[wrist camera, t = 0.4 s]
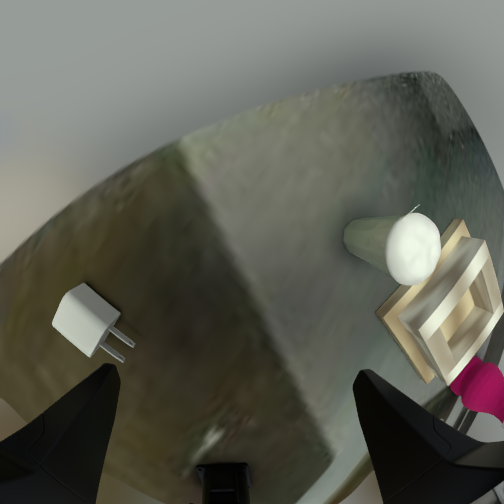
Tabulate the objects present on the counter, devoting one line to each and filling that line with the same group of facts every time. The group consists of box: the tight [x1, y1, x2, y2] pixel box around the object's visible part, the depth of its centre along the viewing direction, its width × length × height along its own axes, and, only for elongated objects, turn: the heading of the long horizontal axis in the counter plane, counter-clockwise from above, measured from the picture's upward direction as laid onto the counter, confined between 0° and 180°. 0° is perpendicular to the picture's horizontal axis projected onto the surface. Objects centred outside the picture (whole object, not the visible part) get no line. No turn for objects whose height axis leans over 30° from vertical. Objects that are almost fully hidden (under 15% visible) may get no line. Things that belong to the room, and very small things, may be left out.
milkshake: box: [343, 204, 441, 285], centre depth 18 cm, size 5×5×10 cm
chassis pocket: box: [375, 219, 504, 386], centre depth 22 cm, size 14×14×5 cm
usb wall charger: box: [52, 283, 135, 363], centre depth 20 cm, size 4×7×4 cm, turn 52°
